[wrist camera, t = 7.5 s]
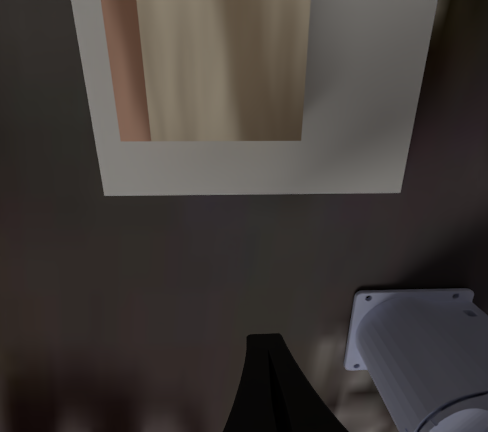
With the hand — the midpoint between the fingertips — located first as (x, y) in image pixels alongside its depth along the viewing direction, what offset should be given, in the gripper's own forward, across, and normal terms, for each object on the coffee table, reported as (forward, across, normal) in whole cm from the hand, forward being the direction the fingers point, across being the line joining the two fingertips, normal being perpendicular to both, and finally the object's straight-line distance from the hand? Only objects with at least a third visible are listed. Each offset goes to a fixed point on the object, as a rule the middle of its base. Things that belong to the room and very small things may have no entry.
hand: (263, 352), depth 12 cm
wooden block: (+8, -2, -11) cm, 14 cm away
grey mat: (+10, 0, -10) cm, 14 cm away
